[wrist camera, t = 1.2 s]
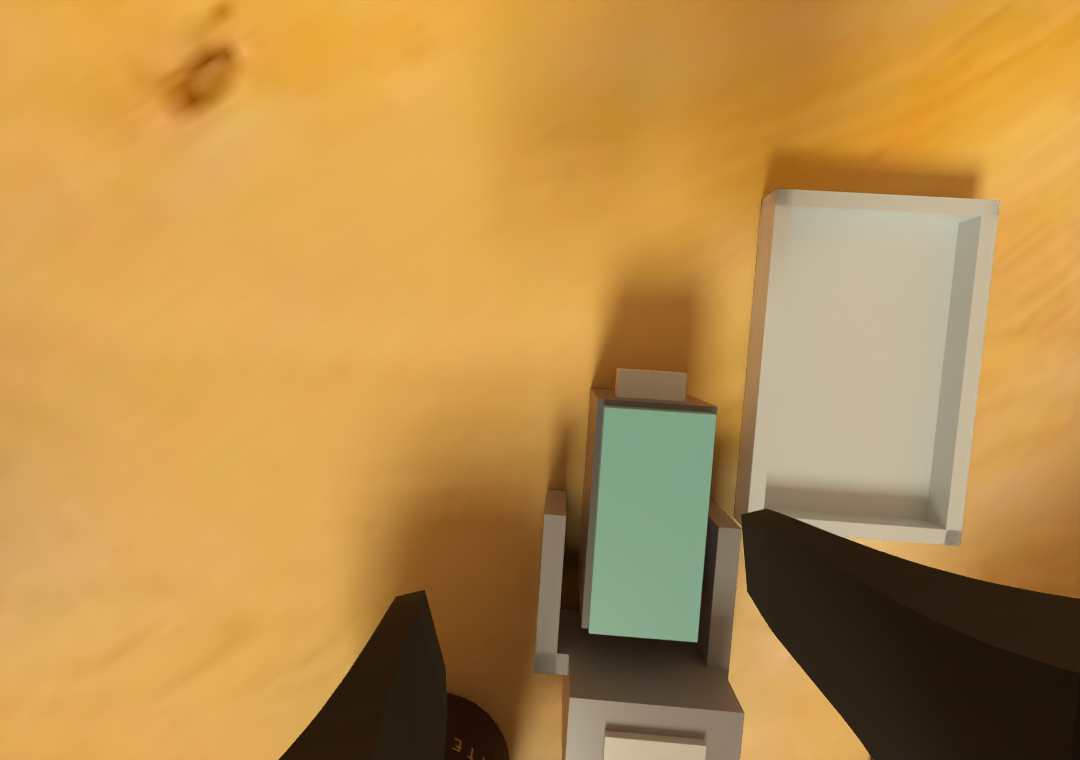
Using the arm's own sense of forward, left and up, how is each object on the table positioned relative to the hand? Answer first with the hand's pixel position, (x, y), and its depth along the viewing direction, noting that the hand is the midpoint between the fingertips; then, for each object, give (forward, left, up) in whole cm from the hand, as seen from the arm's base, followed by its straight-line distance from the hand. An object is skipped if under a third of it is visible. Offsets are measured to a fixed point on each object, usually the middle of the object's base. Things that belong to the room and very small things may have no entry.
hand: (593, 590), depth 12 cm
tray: (-11, -5, -11) cm, 17 cm away
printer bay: (-2, +5, -11) cm, 13 cm away
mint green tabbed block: (-2, 0, -12) cm, 12 cm away
